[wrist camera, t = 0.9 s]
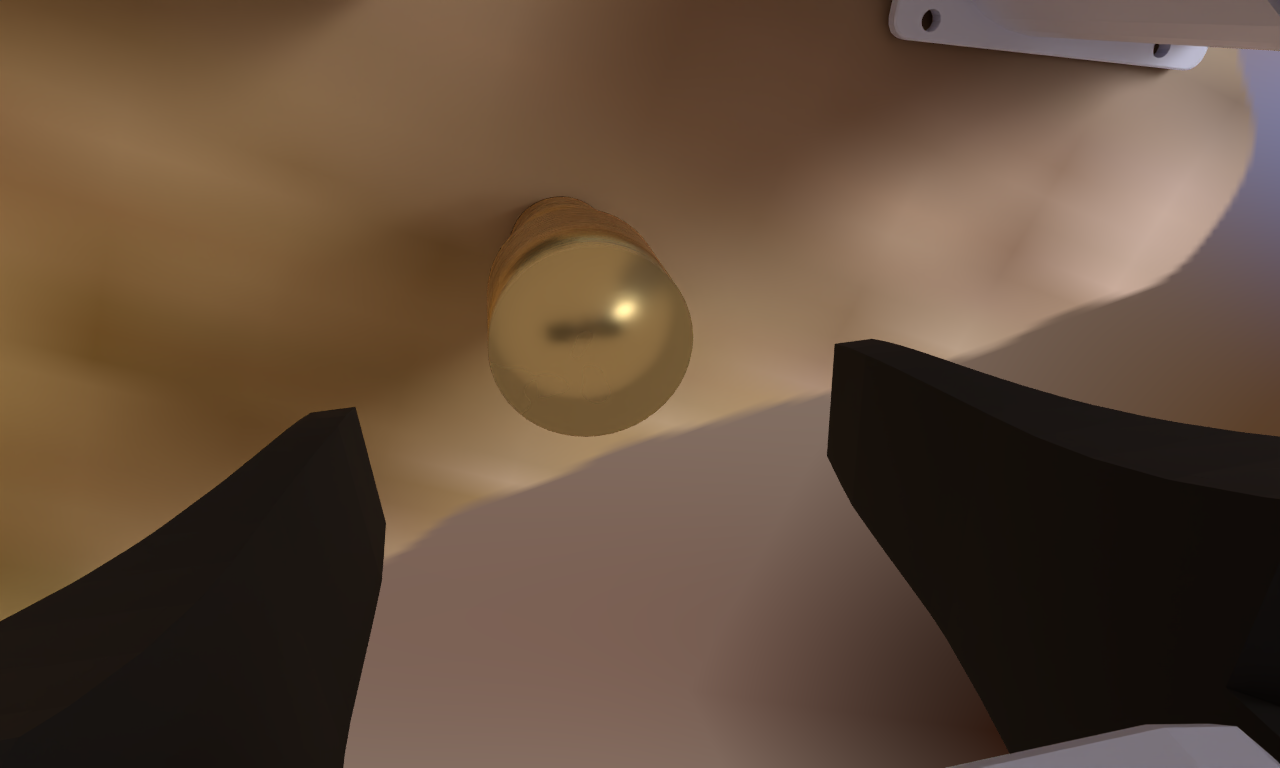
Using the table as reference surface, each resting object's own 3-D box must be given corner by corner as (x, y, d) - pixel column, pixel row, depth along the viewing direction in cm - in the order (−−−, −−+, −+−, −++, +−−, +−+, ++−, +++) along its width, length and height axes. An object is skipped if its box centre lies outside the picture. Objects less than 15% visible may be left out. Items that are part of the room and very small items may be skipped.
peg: (640, 178, 20) (705, 251, 14) (626, 318, 22) (680, 435, 16) (487, 168, 19) (488, 242, 13) (486, 314, 21) (487, 437, 15)
